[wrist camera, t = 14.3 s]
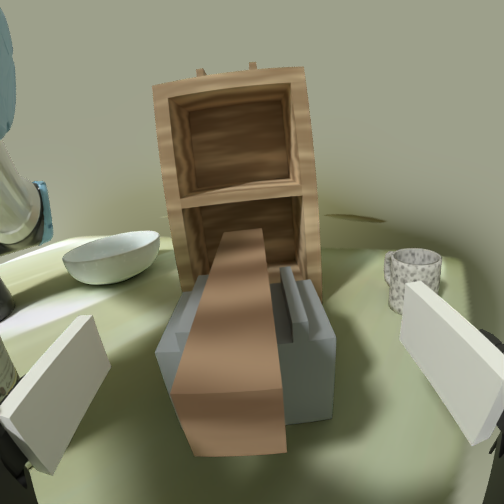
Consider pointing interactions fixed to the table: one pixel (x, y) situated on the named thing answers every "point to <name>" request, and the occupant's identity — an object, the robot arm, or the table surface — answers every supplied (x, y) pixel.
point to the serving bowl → (113, 257)
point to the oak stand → (240, 168)
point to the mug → (410, 272)
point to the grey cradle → (288, 343)
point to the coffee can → (7, 377)
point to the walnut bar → (233, 358)
